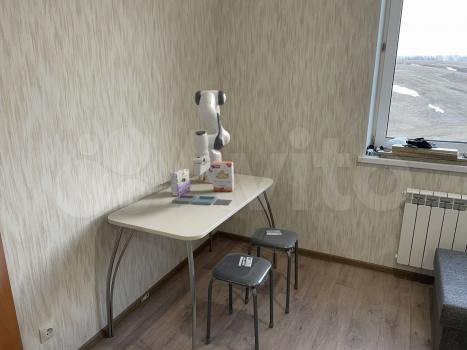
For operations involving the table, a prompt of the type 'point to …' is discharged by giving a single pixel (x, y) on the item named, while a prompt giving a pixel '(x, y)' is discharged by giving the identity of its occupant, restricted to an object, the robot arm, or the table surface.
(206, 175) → the letter cube
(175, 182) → the candy box
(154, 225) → the table surface
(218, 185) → the cracker box
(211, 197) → the slate tray
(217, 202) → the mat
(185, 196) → the charcoal tray
